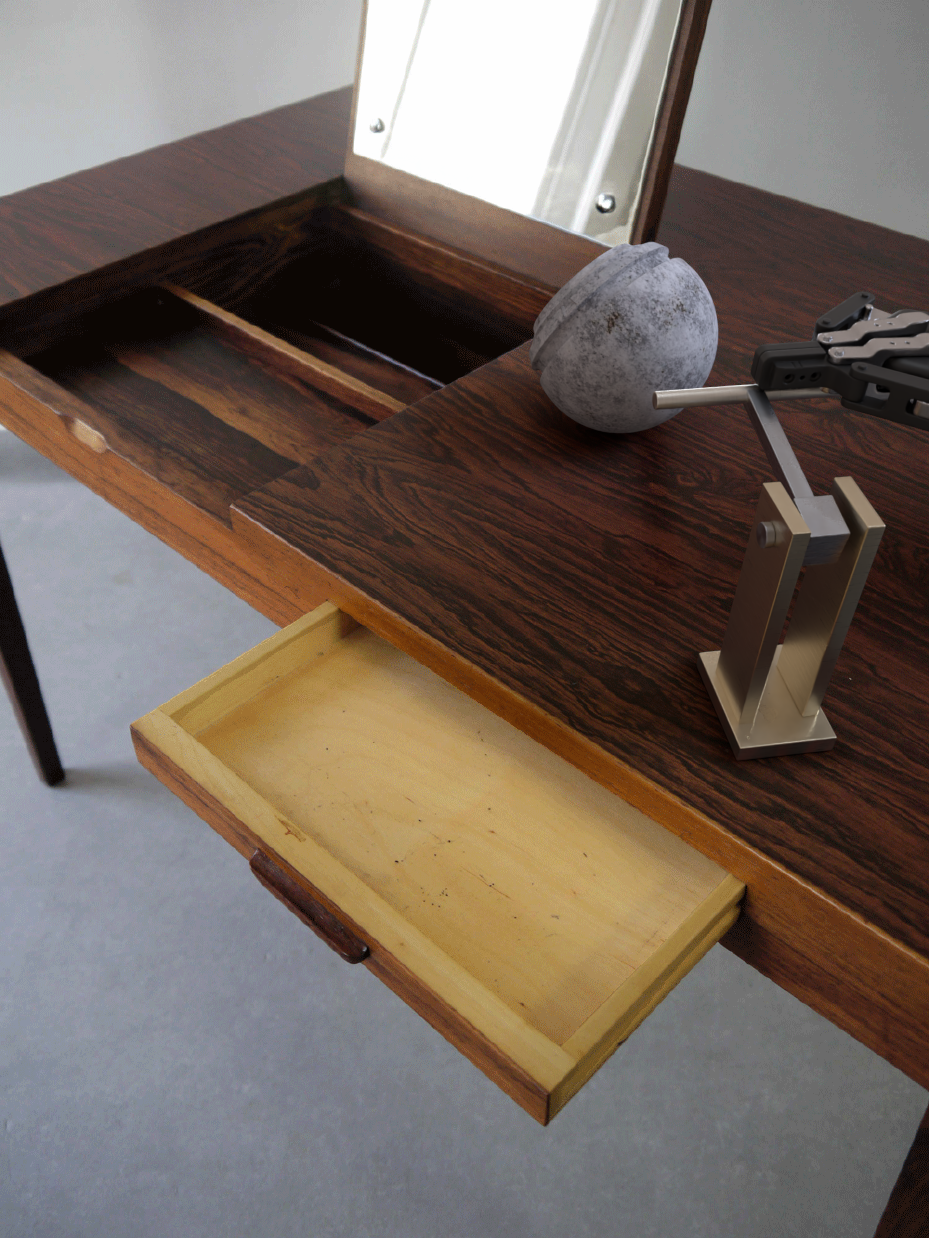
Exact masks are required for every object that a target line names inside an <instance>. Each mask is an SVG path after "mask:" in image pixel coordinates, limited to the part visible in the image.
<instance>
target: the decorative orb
mask: <svg viewBox="0 0 929 1238" xmlns="http://www.w3.org/2000/svg"><path fill="white" fill-rule="evenodd" d="M669 253H670V250H669V248H668V247H667V246H666V245H665V246H664V245H662V244H660V243H658V242H655V241H648V242H645V243H642V244H635V245H634V244H633V245H632V244H630V243H621V244H619V245H616V246H613V247H612V248H609V249H608V250H607V251H604V252H603V253H602V254H600V255H599V256H597V257H596V258H595V259H593V260H592V261H590V262H589V263H588V264H586V266H584V267H583V268H582V269H581V270H579V271H578V272H577V273H576V274H575V275H574V276H572V277H571V278H570V279H569V280H568V281H567V282H566V283H565V284H564V285H563V286H562V287H561V288H560V289H559V290H558V291H557V292H556V293H555V294H554V296H553V297H552V298H551V299H550V300H549V301H548V303H547V304H546V305H545V306H544V307H543V309H542V310H541V311H540V313H539V315H538V316H537V318H536V320H535V322H534V324H533V334H534V335H533V337H532V338H533V339H532V344H531V346H530V347H529V349H528V350H529V351H528V357H529V361H530V366H531V369H532V370H533V371H540V372H541V375H540V379H539V384H540V386H541V388H542V390H543V392H544V393H545V394H546V396H547V397H548V398H549V400H550V402H551V403H553V404H554V405H555V407H556V408H557V409H558V410H559V411H561V412H562V413H563V414H564V415H566V417H568V418H570V419H571V420H573V421H575V422H576V423H578V424H580V425H582V426H584V427H585V428H588V429H592V430H595V431H599V432H602V433H611V434H629V433H631V434H632V433H637V432H642V431H646V430H649V429H653V428H655V427H657V426H659V425H661V424H664V423H665V422H667V421H669V420H670V419H673V418H674V417H675V416H676V415H679V414H680V413H681V412H682V411H684V410H685V408H676V409H662V410H655V409H654V408H653V404H652V396H653V393H654V392H655V391H667V390H681V389H695V388H704V386H705V383H706V381H707V380H708V378H709V375H710V373H711V371H712V369H713V367H714V366H713V365H714V362H715V360H716V356H717V351H718V344H719V324H718V323H719V322H718V318H717V312H716V311H717V310H716V307H715V304H714V301H713V298H712V296H711V293H710V291H709V290H708V288H707V285H706V284H705V282H704V281H703V279H702V278H701V277H700V275H699V274H698V272H696V271H695V269H694V268H693V267H692V266H691V265H690V264H688V263H687V262H686V261H685V260H684V259H683V258H681V257H673V258H670V257H669Z"/></svg>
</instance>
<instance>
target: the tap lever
mask: <svg viewBox="0 0 929 1238" xmlns="http://www.w3.org/2000/svg"><path fill="white" fill-rule="evenodd" d="M839 397H840V398H842V396H841V395H840V394H827V393H824V392H822V391H820V390H819V387H814V388H799V389H798V388H796V389H791V388H790V389H785V390H779V389H774V390H762V389H760V388H759V386H758V384H757V383H753V384H741V385H740V384H739V385H725V386H711V387H702V388H695V389H681V390H667V391H655V392H654V393H653V396H652V404H653V408H654V409H655V410H662V409H676V408H684V409H688V408H703V407H716V406H717V407H718V406H730V405H743V407H744V410H745V411H746V414H747V416H748V418H749V420H750V423H751V425H752V427H753V429H754V432H755V434H756V436H757V438H758V441H759V442H760V445H761V448H762V449H763V452H764V454H765V456H766V458H767V461H768V464H769V465H770V467H771V470H772V471H773V474H774V476H775V478H776V482H781V483H782V485H783V487H784V488H785V490H786V492H787V493H788V495H789V496H790V498H791V500H792V501H793V503H794V505H795V506H796V508H797V510H798V511H799V513H800V514H801V516H802V518H803V519H804V521H805V523H806V524H807V526H808V527H809V529H810V531H811V536H810V539H809V543H808V546H807V549H806V553H805V556H804V559H803V562H802V566H801V567H807V566H808V565H819V564H830V563H836V562H837V561H838V559H839V557H840V555H841V552H842V550H843V548H844V546H845V544H846V542H847V540H848V538H849V536H850V531H849V529H848V527H847V525H846V523H845V521H844V518H843V516H842V514H841V512H840V510H839V508H838V506H837V504H836V502H835V500H834V498H833V496H832V495H829V494H826V495H815V494H814V492H813V491H812V488H811V486H810V485H809V482H808V480H807V478H806V475H805V473H804V471H803V469H802V467H801V465H800V462H799V461H798V459H797V456H796V454H795V452H794V450H793V448H792V446H791V444H790V442H789V440H788V437H787V435H786V433H785V431H784V429H783V427H782V424H781V422H780V420H779V418H778V416H777V414H776V412H775V409H774V407H773V405H772V404H771V403H772V402H784V401H785V402H786V401H799V400H800V401H801V400H812V399H826V398H839Z"/></svg>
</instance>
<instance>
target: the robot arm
mask: <svg viewBox="0 0 929 1238" xmlns="http://www.w3.org/2000/svg"><path fill="white" fill-rule="evenodd" d="M875 300H876V295H874V294H873V293H871V292H869V291H861V290H860V291H857V292H855V293H854V294H852V295H851V296H850V297H847V298H846V299H845V300H844V301H842V302H840V303H839V304H837V305H836V306H835V307H833V308H832V309H830V310H829V311H827V312H826V313H823V314H822V315H821V316H820V317H818V318H817V319H816V321H815V325H814V328H813V332H812V335H811V339H810V340H807V341H805V340H804V341H790V342H778V343H776V342H775V343H774V342H773V343H765V344H761V345H759V346H758V347H757V348H756V349H755V350H754V354H753V359H752V363H751V367H750V375H751V377H752V378H753V380H754V382H755V384H758V386H759V388H760V389H762V390H774V389H779V390H785V389H790V388H791V389H796V388H798V389H799V388H814V387H819V390H820V391H822V392H824V393H827V394H840V395H841V397H840V402H839V403H840V405H841V406H842V408H844V409H846V410H847V409H848V410H851V411H854V412H857V413H860V414H861V413H862V414H865V415H868V416H873V417H875V418H878V419H879V418H880V419H883V420H886V421H890V422H892V423H897V424H899V425H903V426H908V427H911V428H914V429H918V430H920V431H921V430H922V431H926V432H928V433H929V311H923V310H916V309H907V308H905V309H899V310H896V311H895V312H894V313H889V312H886V311H885V310H881V309H879V308H876V307H874V304H875Z"/></svg>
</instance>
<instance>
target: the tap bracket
mask: <svg viewBox="0 0 929 1238" xmlns="http://www.w3.org/2000/svg"><path fill="white" fill-rule="evenodd" d="M761 485H762V486H761V490H760V494H759V497H758V501H757V505H756V509H755V514H754V518H753V521H752V525H751V529H750V534H749V536H748V541H747V545H746V549H745V553H744V557H743V561H742V565H741V568H740V573H739V575H738V576H739V577H738V580H737V585H736V590H735V593H734V595H733V600H732V603H731V604H732V605H731V609H730V612H729V616H728V621H727V625H726V627H725V632H724V635H723V641H722V644H721V648H720V650H714V651H704V652H698V656H697V660H696V664H695V665H696V666H695V667H696V668H697V671H698V673H699V676H700V678H701V681H702V683H703V685H704V687H705V689H706V692H707V694H708V697H709V699H710V701H711V704H712V706H713V708H714V710H715V713H716V715H717V718H718V720H719V722H720V725H721V727H722V729H723V732H724V734H725V736H726V739H727V741H728V743H729V745H730V748H731V751H732V753H733V755H734V757H735V760H736V761H738V762H739V761H747V760H756V759H757V760H758V759H765V758H772V757H782V756H792V755H799V754H800V755H801V754H809V753H817V752H819V753H820V752H826V751H828V752H829V751H832V750H833V749H834V746H835V743H836V741H837V739H838V738H837V735H836V733H835V731H834V729H833V727H832V726H831V724H830V722H829V719H828V718H827V716H826V714H825V712H824V711H823V709H822V707H821V706H822V703H823V700H824V697H825V696H826V695H825V694H826V692H827V689H828V687H829V684H830V681H831V678H832V675H833V673H834V671H835V668H836V664H837V662H838V659H839V656H840V653H841V650H842V648H843V646H844V642H845V640H846V637H847V634H848V632H849V630H850V626H851V623H852V620H853V618H854V616H855V615H854V614H855V612H856V609H857V607H858V604H859V601H860V598H861V596H862V593H863V589H864V587H865V585H866V582H867V579H868V577H869V573H870V571H871V568H872V566H873V562H874V560H875V557H876V555H877V552H878V549H879V546H880V543H881V540H882V538H883V535H884V532H885V530H886V524H885V522H884V521H883V519H882V517H880V515H879V513H878V512H877V510H875V508H874V507H873V505H872V504H871V502H870V501H869V500H868V498H867V497H866V495H865V494H864V493H863V491H862V489H861V488H860V486H859V485H858V484H857V483H856V481H855V479H854V478H853V477H852V476H851V475H848V476H835V477H834V478H833V481H832V484H831V488H830V491H829V493H828V495H832V496H833V498H834V500H835V502H836V504H837V506H838V508H839V510H840V512H841V514H842V516H843V518H844V521H845V523H846V525H847V527H848V529H849V531H850V536H849V538H848V540H847V542H846V544H845V546H844V548H843V550H842V552H841V555H840V557H839V559H838V561H837V562H836V563H830V564H819V565H808V566H806V568H805V572H804V575H803V578H802V581H801V585H800V588H799V591H798V594H797V598H796V601H795V605H794V607H793V611H792V615H791V617H790V621H789V624H788V626H787V630H786V633H785V636H784V640H783V643H782V644H779V641H780V639H781V635H782V631H783V628H784V625H785V622H786V618H787V616H788V611H789V608H790V605H791V602H792V598H793V595H794V592H795V589H796V585H797V583H798V579H799V576H800V572H801V569H802V567H803V566H802V562H803V559H804V556H805V553H806V549H807V546H808V543H809V539H810V536H811V531H810V529H809V527H808V526H807V524H806V523H805V521H804V519H803V518H802V516H801V514H800V513H799V511H798V510H797V508H796V506H795V505H794V503H793V501H792V500H791V498H790V496H789V495H788V493H787V492H786V490H785V488H784V487H783V485H782V483H781V482H778V481H771V482H763V483H762V484H761Z"/></svg>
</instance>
